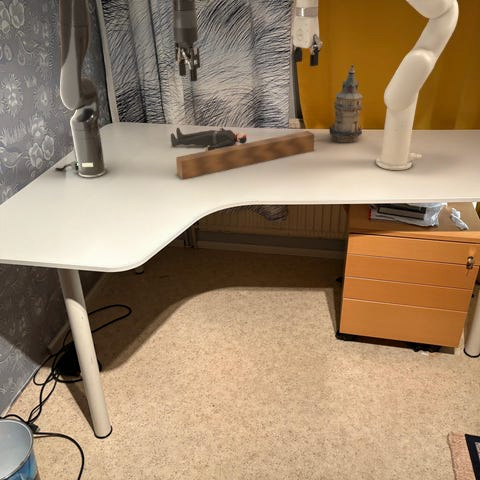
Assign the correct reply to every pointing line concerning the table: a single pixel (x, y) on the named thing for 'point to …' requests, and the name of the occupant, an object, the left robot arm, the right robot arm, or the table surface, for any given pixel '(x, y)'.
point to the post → (243, 154)
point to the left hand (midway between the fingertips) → (188, 78)
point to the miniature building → (347, 111)
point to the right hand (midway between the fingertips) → (306, 63)
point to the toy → (208, 138)
